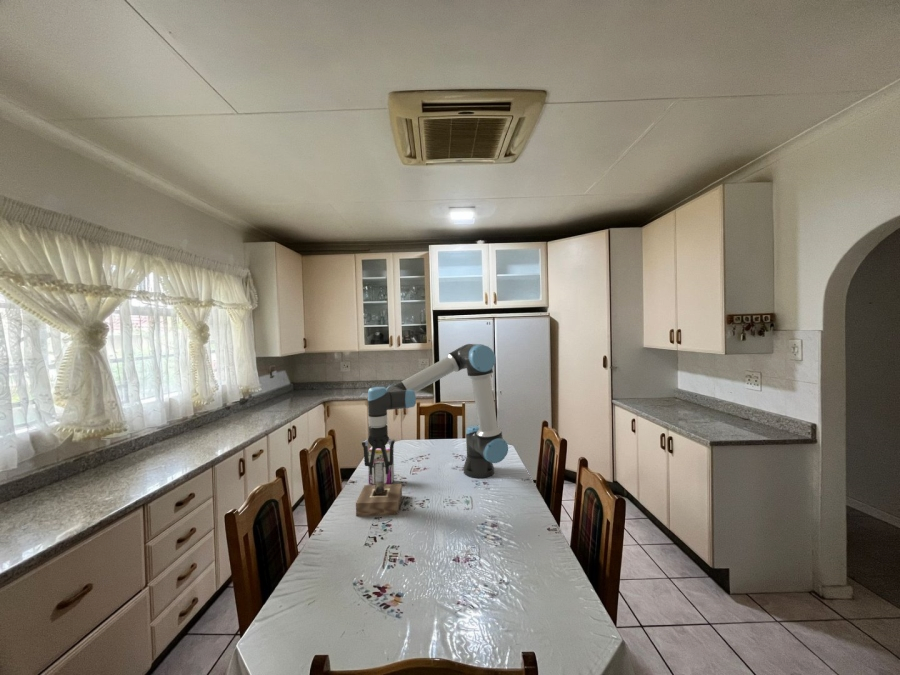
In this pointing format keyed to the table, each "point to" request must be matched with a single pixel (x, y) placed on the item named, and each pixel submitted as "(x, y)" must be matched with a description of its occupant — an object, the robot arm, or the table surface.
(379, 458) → the candy bar box
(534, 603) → the table surface
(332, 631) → the table surface
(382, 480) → the pin
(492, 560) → the table surface
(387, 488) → the block
